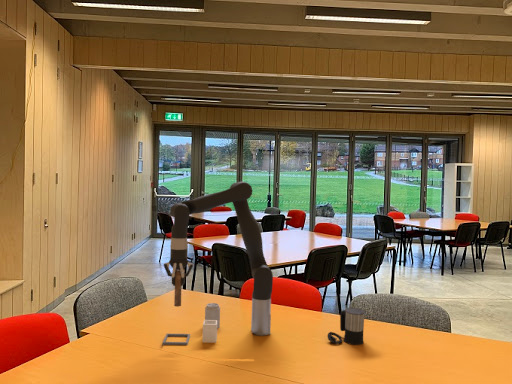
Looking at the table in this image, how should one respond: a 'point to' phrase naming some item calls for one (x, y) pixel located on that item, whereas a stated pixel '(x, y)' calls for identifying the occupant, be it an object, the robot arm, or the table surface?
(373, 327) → the table surface
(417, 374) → the table surface
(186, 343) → the tray
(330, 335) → the milk frother
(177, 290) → the dowel
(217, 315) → the can
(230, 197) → the robot arm
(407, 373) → the table surface
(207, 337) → the cup
